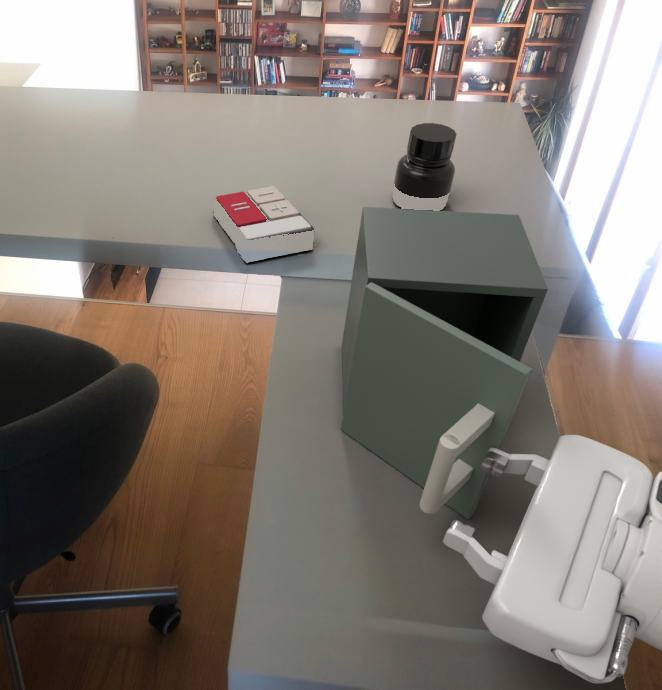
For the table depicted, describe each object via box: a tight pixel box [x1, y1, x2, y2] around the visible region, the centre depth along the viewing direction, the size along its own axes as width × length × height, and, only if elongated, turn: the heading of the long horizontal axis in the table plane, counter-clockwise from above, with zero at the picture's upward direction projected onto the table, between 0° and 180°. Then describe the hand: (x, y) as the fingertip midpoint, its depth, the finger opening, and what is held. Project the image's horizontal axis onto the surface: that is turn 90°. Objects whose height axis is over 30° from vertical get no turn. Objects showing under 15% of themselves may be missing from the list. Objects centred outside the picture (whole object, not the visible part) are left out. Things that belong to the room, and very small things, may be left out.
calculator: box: [215, 185, 315, 240], centre depth 106 cm, size 11×4×15 cm
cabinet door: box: [340, 282, 533, 520], centre depth 64 cm, size 7×16×20 cm, turn 42°
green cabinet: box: [341, 206, 549, 414], centre depth 75 cm, size 13×16×20 cm
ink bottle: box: [393, 122, 457, 198], centre depth 109 cm, size 10×9×12 cm
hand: (467, 492), depth 58 cm, fingers open, 8 cm apart
